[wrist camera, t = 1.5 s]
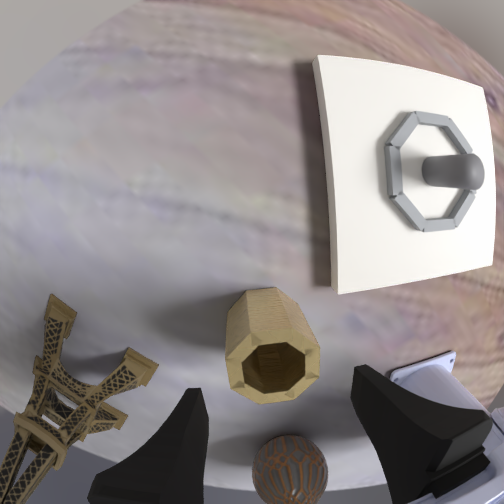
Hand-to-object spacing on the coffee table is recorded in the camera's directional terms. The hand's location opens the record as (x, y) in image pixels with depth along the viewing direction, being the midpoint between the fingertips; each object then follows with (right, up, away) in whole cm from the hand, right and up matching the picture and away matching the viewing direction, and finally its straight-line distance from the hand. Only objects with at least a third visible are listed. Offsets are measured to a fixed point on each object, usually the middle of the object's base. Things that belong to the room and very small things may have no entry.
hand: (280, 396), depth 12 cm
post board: (+12, +13, +7) cm, 18 cm away
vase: (+2, -13, +12) cm, 18 cm away
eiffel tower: (-16, -4, +9) cm, 19 cm away
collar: (0, +2, +8) cm, 9 cm away
